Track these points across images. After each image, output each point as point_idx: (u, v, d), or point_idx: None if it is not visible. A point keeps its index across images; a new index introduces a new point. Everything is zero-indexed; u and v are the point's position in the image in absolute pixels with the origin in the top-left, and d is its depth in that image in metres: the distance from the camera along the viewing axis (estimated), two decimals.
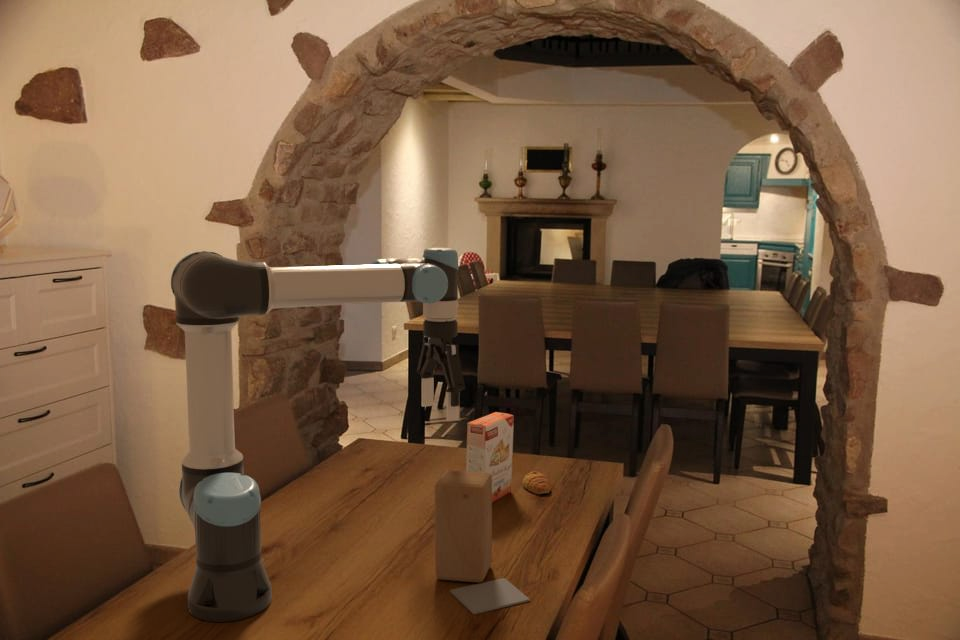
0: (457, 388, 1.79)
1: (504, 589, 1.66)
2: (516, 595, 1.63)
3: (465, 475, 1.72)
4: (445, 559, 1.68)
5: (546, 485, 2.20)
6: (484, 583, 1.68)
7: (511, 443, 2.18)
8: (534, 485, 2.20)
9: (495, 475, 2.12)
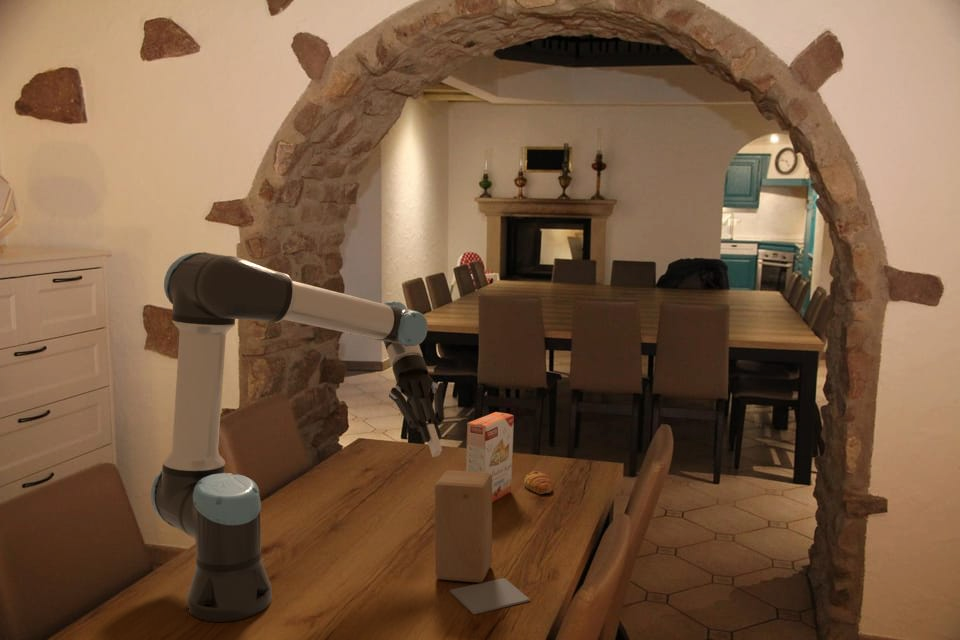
0: (410, 425, 1.84)
1: (504, 589, 1.66)
2: (516, 595, 1.63)
3: (465, 475, 1.72)
4: (445, 559, 1.68)
5: (548, 485, 2.20)
6: (484, 583, 1.68)
7: (511, 443, 2.18)
8: (536, 484, 2.20)
9: (495, 475, 2.12)
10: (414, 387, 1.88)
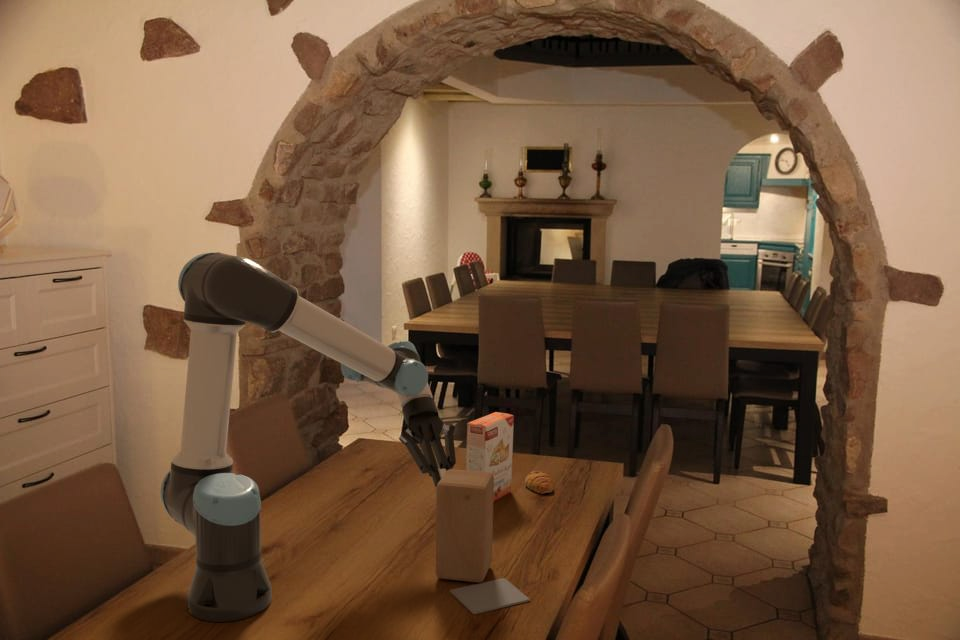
0: (422, 470, 1.81)
1: (504, 589, 1.66)
2: (516, 595, 1.63)
3: (467, 474, 1.71)
4: (445, 559, 1.68)
5: (549, 484, 2.20)
6: (484, 583, 1.68)
7: (511, 443, 2.18)
8: (537, 484, 2.20)
9: (495, 475, 2.12)
10: (425, 430, 1.84)
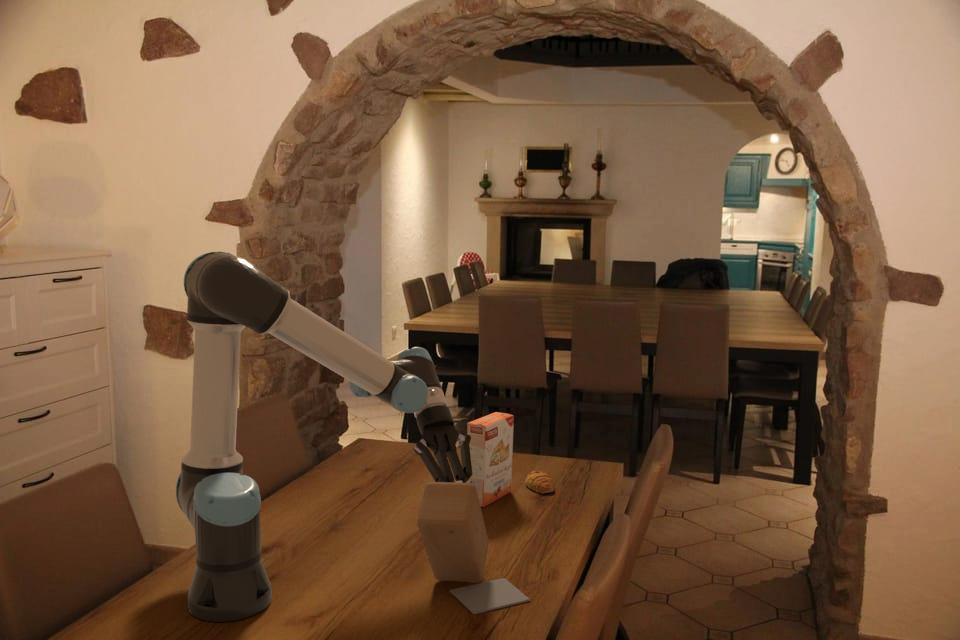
0: None
1: (504, 589, 1.66)
2: (516, 595, 1.63)
3: (447, 495, 1.60)
4: (441, 570, 1.66)
5: (550, 484, 2.20)
6: (484, 583, 1.68)
7: (511, 443, 2.18)
8: (538, 484, 2.21)
9: (495, 475, 2.12)
10: (440, 440, 1.77)
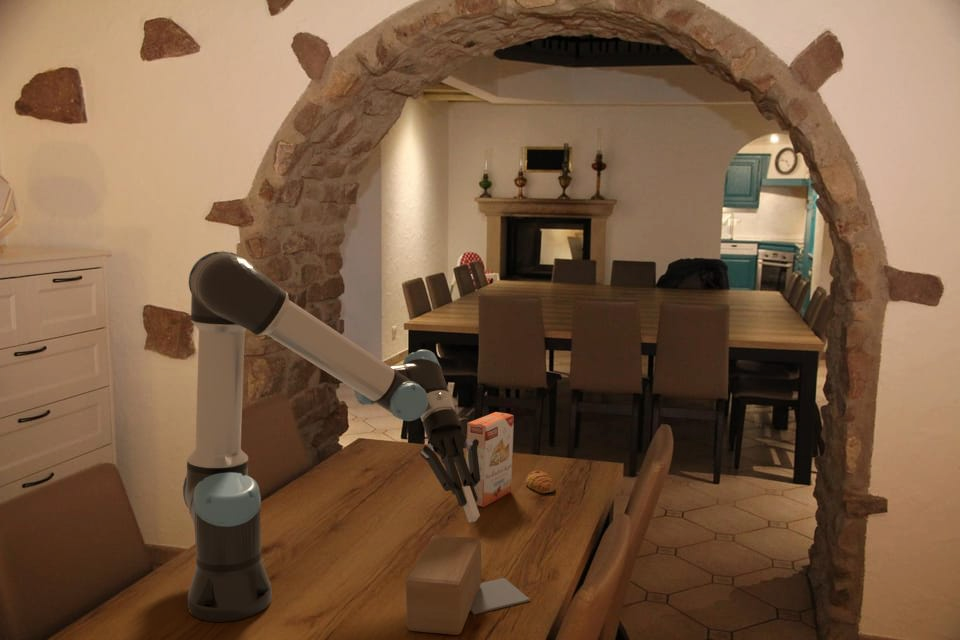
0: (444, 487, 1.70)
1: (504, 589, 1.66)
2: (516, 595, 1.63)
3: (432, 600, 1.48)
4: None
5: (550, 484, 2.20)
6: (484, 583, 1.68)
7: (511, 443, 2.18)
8: (538, 484, 2.21)
9: (495, 475, 2.12)
10: (447, 445, 1.74)
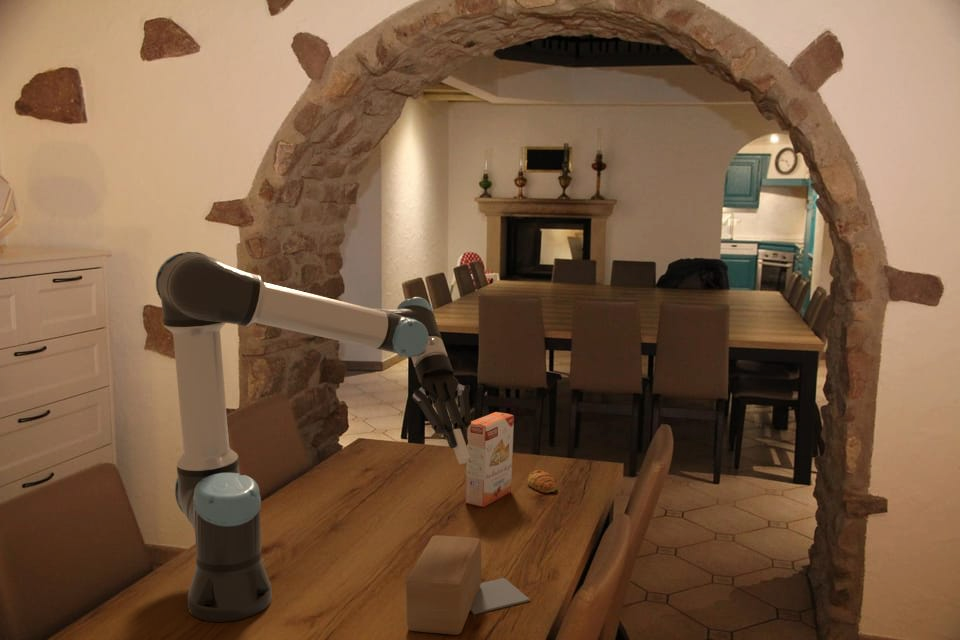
0: (435, 430, 1.72)
1: (504, 589, 1.66)
2: (516, 595, 1.63)
3: (432, 600, 1.48)
4: None
5: (552, 484, 2.21)
6: (484, 583, 1.68)
7: (511, 443, 2.18)
8: (540, 483, 2.21)
9: (495, 475, 2.12)
10: (439, 389, 1.76)
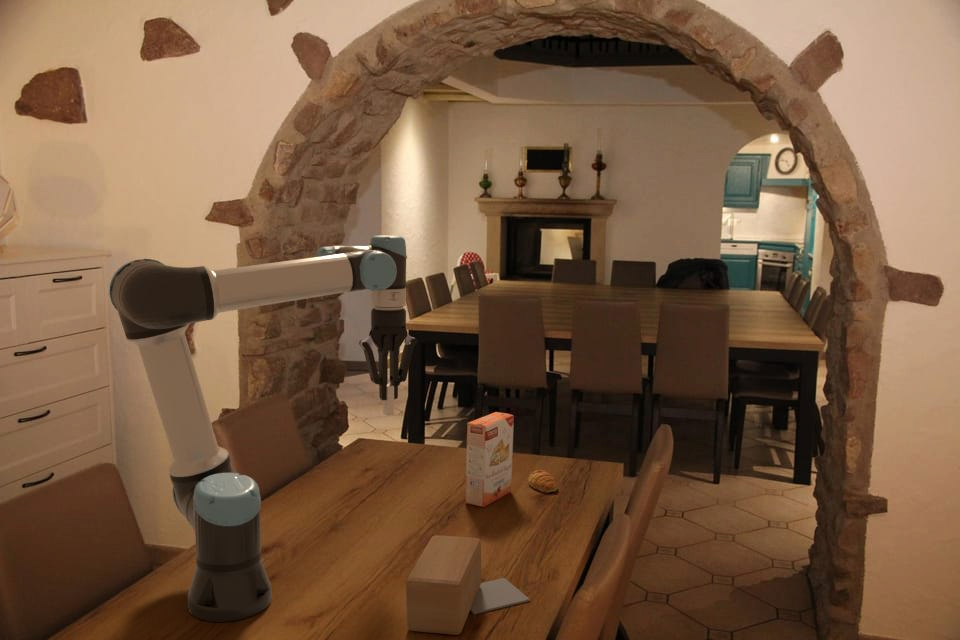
0: (371, 380, 1.84)
1: (504, 589, 1.66)
2: (516, 595, 1.63)
3: (432, 600, 1.48)
4: None
5: (553, 483, 2.21)
6: (484, 583, 1.68)
7: (511, 443, 2.18)
8: (541, 483, 2.21)
9: (495, 475, 2.12)
10: (386, 344, 1.82)
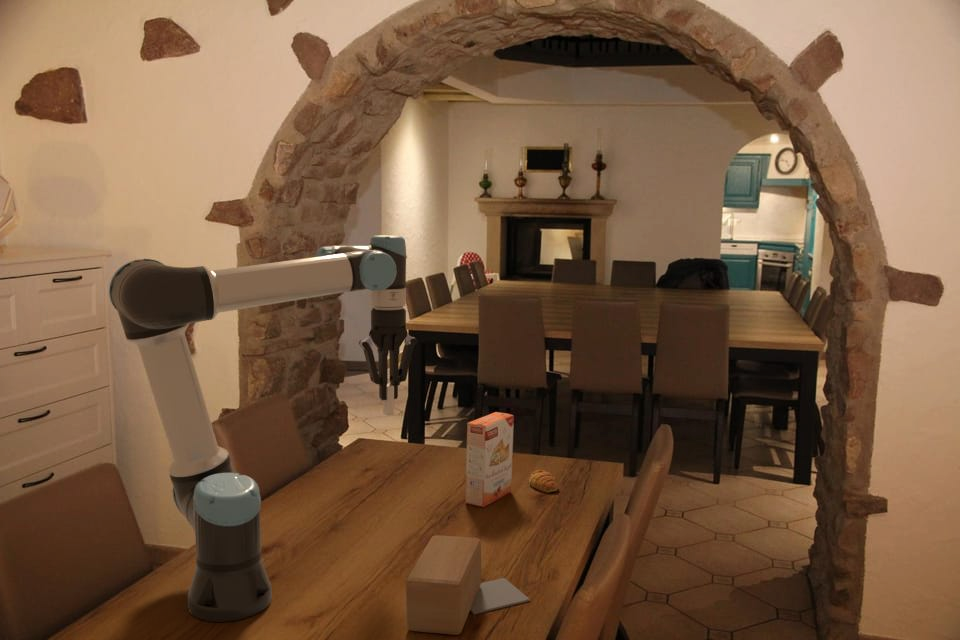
0: (371, 380, 1.84)
1: (504, 589, 1.66)
2: (516, 595, 1.63)
3: (432, 600, 1.48)
4: None
5: (554, 483, 2.21)
6: (484, 583, 1.68)
7: (511, 443, 2.18)
8: (542, 483, 2.21)
9: (495, 475, 2.12)
10: (386, 344, 1.82)
